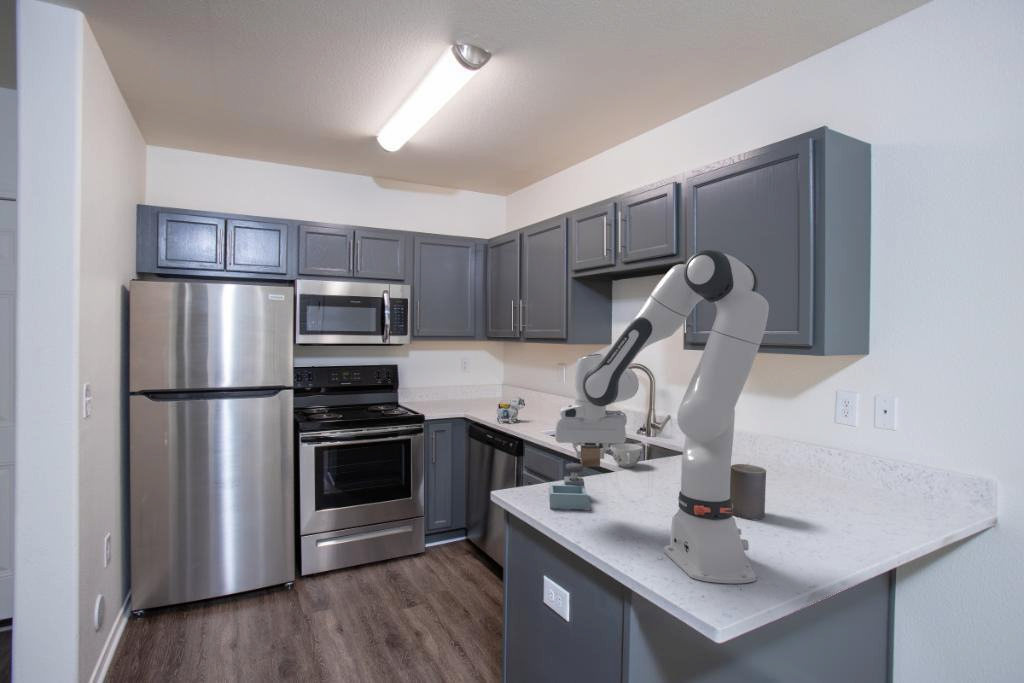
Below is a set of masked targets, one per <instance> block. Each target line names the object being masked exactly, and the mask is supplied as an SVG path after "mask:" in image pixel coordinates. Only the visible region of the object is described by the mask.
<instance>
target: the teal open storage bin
mask: <svg viewBox="0 0 1024 683" xmlns="http://www.w3.org/2000/svg"><path fill="white" fill-rule="evenodd" d="M548 487H549V488H548V502H549V503H550V504H549V509H550V508H567V509H566V510H570V509H590V510H591V508H592V507H591V502H590V498H589V497H588V496H589V495H588V492H587V489H586V487H585V481H584V477H583V476H577V481H575V480H571V476H563V484H549V486H548Z"/></svg>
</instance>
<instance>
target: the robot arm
mask: <svg viewBox="0 0 1024 683" xmlns="http://www.w3.org/2000/svg"><path fill="white" fill-rule="evenodd" d="M758 279H759V278H758V275H757V274H756V272H755V270H753V269H752V268H751V267H750V266H749V265H748V264H746V263H743V262H742V261H740V260H739V259H737V258H736V257H735V256H732V255H729V254H726V253H723V252H721V251H718V250H714V249H704V250H700V251H698V252H696V253H694V254H693V255H691V257H689V258H688V260H687V262H686V264H684V263H681V264H680V263H679V264H676V265H674V266H672V267H671V268H670V269H669V270H668V271H667V272H666V274H665V275H664V276H663V277H662V278H661V279H660V281H659V282H658V283H657V284H656V286H654V289H653V290H652V292H651V293H650V295H649V296H648V298H647V300H645V302H644V304H643V306H642V307H641V308H640V310H639V312H638V313H637V314H636V315H635V317H634V318H633V319H632V321H631V322H630V323H629V324H628V326H627V327H626V328H625V329H624V330H623V332H622V334H620V336H619V337H618V338H617V340H616V341H615V343H614V344H613V345H612V347H611V348H610V350H609V351H608V352H607V353H606V355H604V354H601V353H593V354H587V355H582V356H581V357H579V358H578V359H577V362H576V365H575V378H574V380H575V381H574V383H575V384H574V386H575V388H576V393H575V398H574V403H573V404H570V405H566V406H563V407H560V409H559V415H560V416H559V417H558V419H557V421H556V424H555V431H554V432H555V435H554V438H555V441H556V442H557V443H562V444H564V443H566V444H570V443H571V444H572V448H573V449H574V451H575V456H576V459H581V458H582V456H581V455H582V452H581V450H578V448H577V447H578V446H579V444H584V443H595V444H602V446H603V448H602V449H601V450H600V460H601V459H602V460H604V459H605V454H606V452H607V450H608V448H609V444H625V443H626V441H627V433H626V432H627V431H626V425H627V422H628V421H627V419H628V418H627V417H628V416H627V415H626V413H625V412H622V410H608V409H607V406H608V405H611V404H615V403H619V402H624V401H628V400H629V399H632V398H634V397H635V395H636V394H637V392H638V390H639V382H640V381H639V378H638V375H637V374H636V372H635V371H633V370H632V369H631V368H629V367H630V365H631V364H632V363H633V362H634V360H635V359H636V358H637V356H638V355H639V354H640V352H642V351H643V350H644V349H645V348H647V347H649V346H651V345H652V344H656V343H657V342H659V341H662V340H665V339H667V338H669V337H672V336H673V335H674V334H675V333H676V332H677V331H678V330H679V329H680V328H681V327H682V326H683V325H684V323H685V322H686V320H687V318H688V317H689V316H690V314H691V312H692V311H693V309H694V308H695V307H696V305H697V304H698V303H699V302H701V301H702V300H706V301H707V302H708V303H713V304H715V306H716V316H715V318H714V319H715V320H714V322H713V324H712V328H711V330H710V332H709V335H708V339H707V341H706V343H705V347H704V350H703V352H702V355H701V357H700V359H699V362H698V365H697V367H696V369H695V371H694V373H693V375H692V377H691V379H690V382H689V384H688V386H687V389H686V391H685V393H684V395H683V398H682V400H681V402H680V405H679V407H678V410H677V416H676V417H677V424H678V427H679V429H680V431H681V433H683V435H685V439H684V444H683V447H684V448H683V451H682V455H681V456H682V457H681V471H680V472H681V475H680V490H679V492H678V497H677V501H678V511H677V512H676V513H675V514H674V515H673V516H672V519H671V528H670V529H671V530H670V541H669V542H670V543H669V544H667V545H665V546H664V547H663V553H665V555H666V556H668V557H669V558H670V559H671V560H672V561H673V562H674V563H675V564H676V565H677V566H678V567H679V568H680V569H681V570H682V571H684V573H686V574H687V576H689V577H690V578H691V579H694V580H698V581H703V582H709V583H715V584H716V583H717V584H746V583H753V582H755V581H757V576H756V573H755V571H754V569H753V567H752V565H751V563H750V561H749V559H748V557H747V555H746V552H745V551H749V549H750V547H749V546H750V544H749V540H748V539H742V538H741V536H742V529H741V528H738V525H737V524H736V519H735V518H734V515H733V503H732V498H731V497H730V475H731V466H732V454H733V444H734V443H733V442H734V432H735V418H736V417H735V415H736V414H735V413H736V412H735V410H736V405H737V403H738V400H739V398H740V395H741V394H742V391H743V389H744V387H745V385H746V382H747V380H748V378H749V375H750V373H751V370H752V367H753V364H754V362H755V360H756V357H757V354H758V351H759V349H760V345H761V343H762V340H763V337H764V334H765V331H766V328H767V322H768V317H769V311H770V310H769V309H770V305H769V302H768V300H767V299H766V298H765V297H764V296H762V295H761V294H760V293H758V292H757V291H758V287H759V280H758Z"/></svg>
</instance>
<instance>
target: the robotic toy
mask: <svg viewBox="0 0 1024 683" xmlns="http://www.w3.org/2000/svg"><path fill="white" fill-rule="evenodd" d="M502 401H505V399H504V400H502ZM502 401H500V402H499V404H498V405H497V407H498V408H497V409H496V412H497V416H496V419H497V421H498V420H499V421H498V423H499V424H501V423H503V424H504V421H505V420H507V421H508V423H509V424H510V423H513V424H514V422H513V421H515V422H516V423H520V422H522V420H521V419H518V415H519V410H521V409H523V408H524V407H525V406H526V403H525V399H522V398H521V397H518V396H515V397H513V398H511V399H510V403H506V401H505V402H502Z"/></svg>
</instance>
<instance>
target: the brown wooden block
mask: <svg viewBox="0 0 1024 683" xmlns="http://www.w3.org/2000/svg"><path fill="white" fill-rule="evenodd" d="M580 451H581V452H582V455H581V456H582V458H580V464H582V466H583V467H599V468H600V467H601V459H600V452H601V448H600V445H599V444H597V443H580Z"/></svg>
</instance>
